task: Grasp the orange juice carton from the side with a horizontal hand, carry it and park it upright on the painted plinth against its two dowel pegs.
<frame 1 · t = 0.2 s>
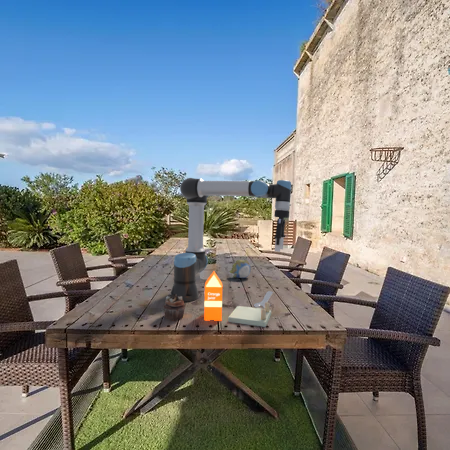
hand: (278, 250, 155), 27 cm above the table, fingers open, 13 cm apart
plinth: (250, 317, 130), on the table
orange juice: (212, 317, 130), on the table
globe: (239, 277, 210), on the table
wrench: (265, 300, 158), on the table
cupcake: (174, 317, 129), on the table
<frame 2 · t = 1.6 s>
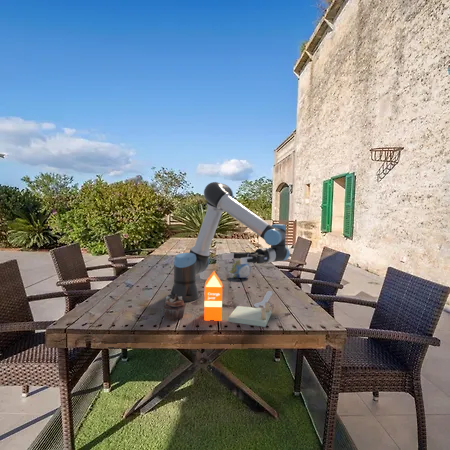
hand: (231, 259, 135), 25 cm above the table, fingers open, 13 cm apart
nothing on the table moved.
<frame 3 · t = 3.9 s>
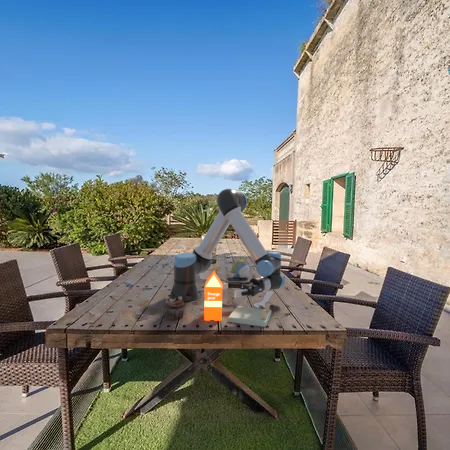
hand: (225, 290, 133), 11 cm above the table, fingers open, 13 cm apart
nothing on the table moved.
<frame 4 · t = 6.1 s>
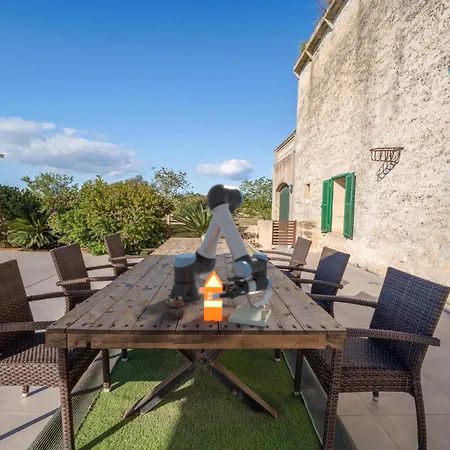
hand: (205, 293, 127), 11 cm above the table, fingers closed on orange juice, 10 cm apart
orange juice: (212, 317, 130), on the table, touching gripper
everything else where it was.
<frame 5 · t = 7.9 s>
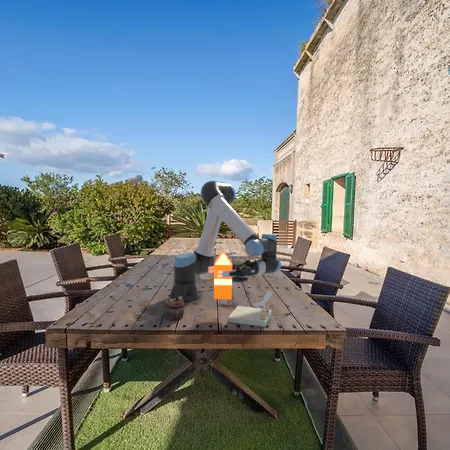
hand: (215, 272, 126), 21 cm above the table, fingers closed on orange juice, 10 cm apart
orange juice: (222, 296, 129), point 9 cm above the table, touching gripper
everything else where it was.
when the fingers open (14 cm above the table, at t = 10.2 s): orange juice drops 1 cm, point 2 cm above the table.
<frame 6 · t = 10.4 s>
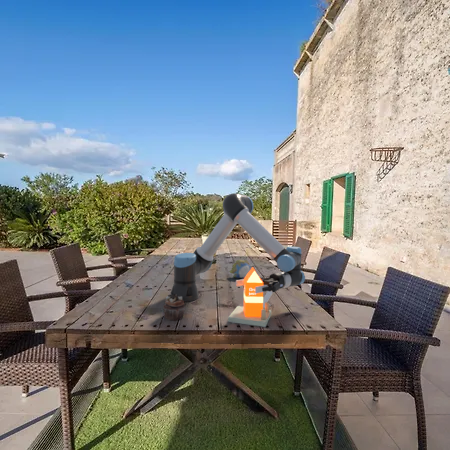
hand: (245, 286, 127), 14 cm above the table, fingers open, 12 cm apart
orange juice: (252, 313, 130), point 2 cm above the table, touching gripper
everything else where it was.
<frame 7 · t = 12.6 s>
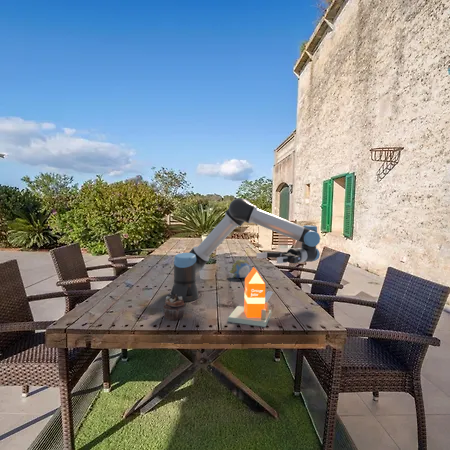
hand: (266, 258, 139), 25 cm above the table, fingers open, 13 cm apart
orange juice: (253, 314, 129), point 2 cm above the table, touching plinth
everything else where it was.
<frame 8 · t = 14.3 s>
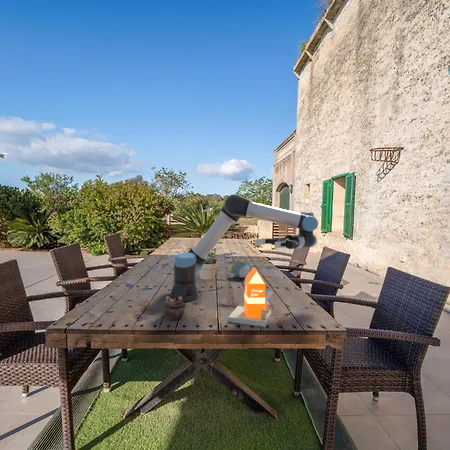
hand: (264, 243, 141), 32 cm above the table, fingers open, 13 cm apart
nothing on the table moved.
at the end: orange juice inside the target area on the plinth (1.5 cm from its centre), point 1.8 cm above the plinth's base; orange juice tilted 0°; the gripper is holding nothing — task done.
